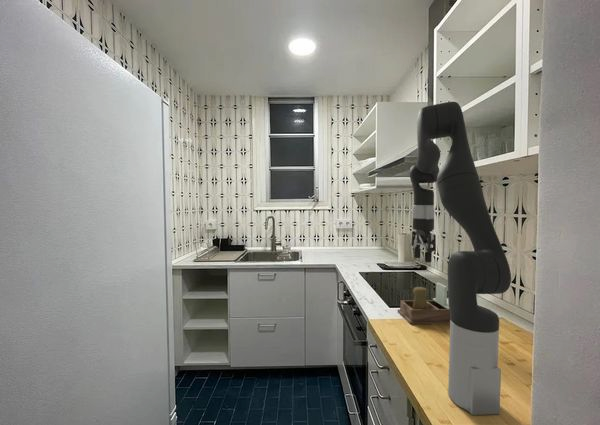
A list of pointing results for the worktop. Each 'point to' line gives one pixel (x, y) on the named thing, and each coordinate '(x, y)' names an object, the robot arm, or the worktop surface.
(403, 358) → the worktop surface
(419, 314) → the caddy
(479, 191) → the robot arm
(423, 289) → the olive rounded piece
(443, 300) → the lid
